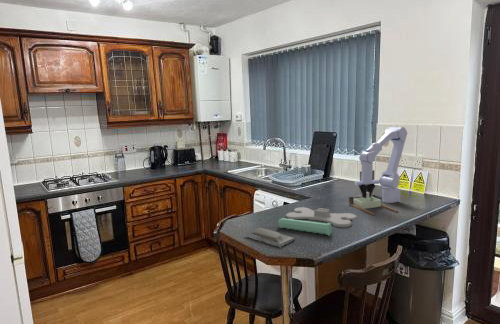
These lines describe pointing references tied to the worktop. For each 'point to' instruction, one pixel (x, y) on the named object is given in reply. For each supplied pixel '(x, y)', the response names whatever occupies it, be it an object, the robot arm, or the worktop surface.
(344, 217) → the holder
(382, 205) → the bay
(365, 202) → the green tray with post
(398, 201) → the robot arm
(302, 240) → the worktop surface
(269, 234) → the grey stepped block
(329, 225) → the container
